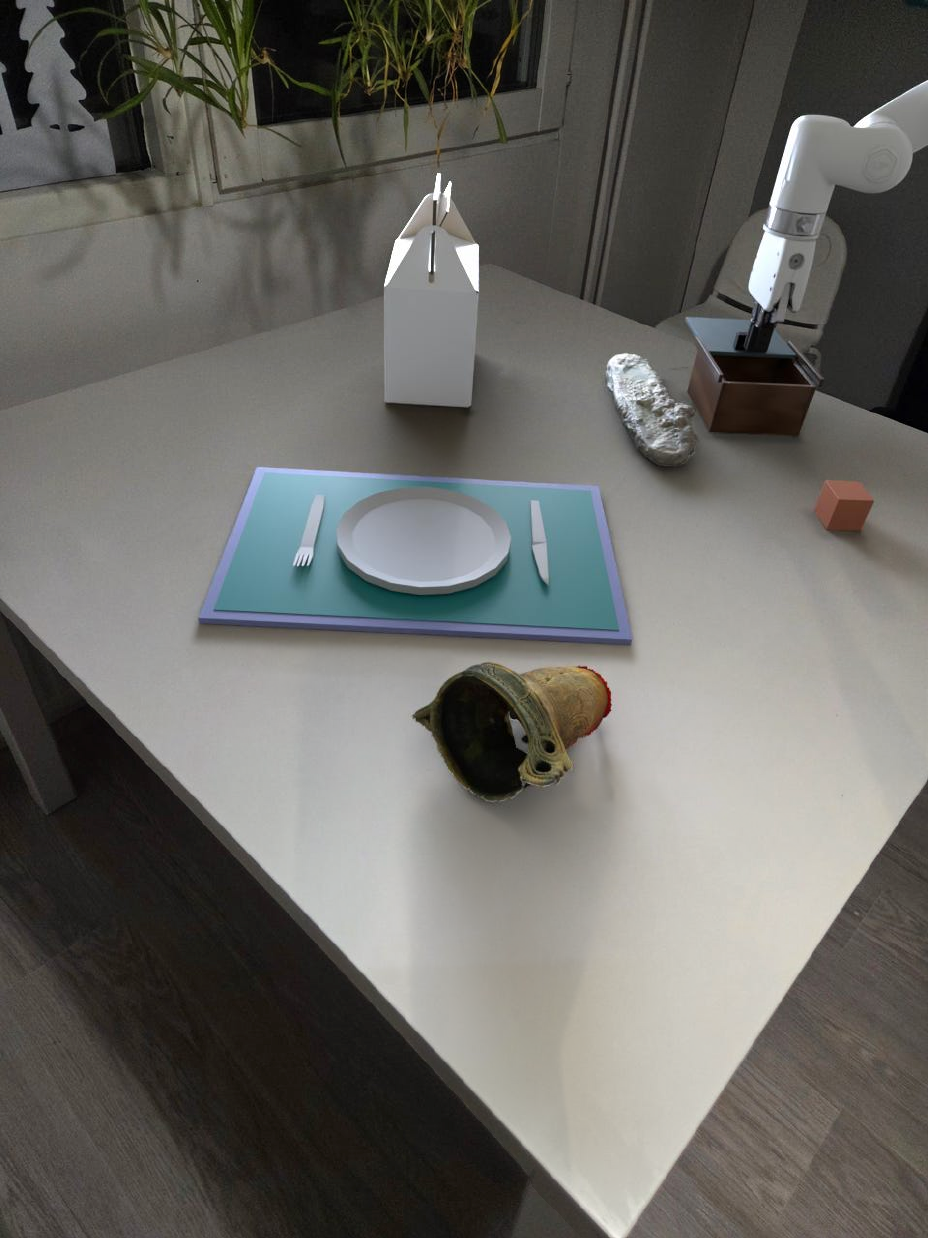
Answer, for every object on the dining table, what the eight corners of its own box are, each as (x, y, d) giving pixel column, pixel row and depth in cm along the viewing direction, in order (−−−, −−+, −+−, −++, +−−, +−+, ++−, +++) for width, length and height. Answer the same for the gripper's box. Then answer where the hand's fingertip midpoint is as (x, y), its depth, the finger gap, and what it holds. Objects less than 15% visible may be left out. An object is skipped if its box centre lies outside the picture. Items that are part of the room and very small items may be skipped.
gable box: (470, 409, 125) (484, 210, 107) (384, 403, 125) (383, 203, 107) (471, 350, 142) (483, 170, 124) (395, 345, 142) (396, 164, 124)
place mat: (199, 623, 85) (196, 606, 83) (257, 471, 108) (255, 456, 107) (631, 644, 86) (635, 628, 85) (597, 491, 110) (600, 476, 108)
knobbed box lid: (766, 324, 138) (772, 306, 136) (795, 358, 127) (801, 339, 125) (684, 320, 137) (689, 302, 135) (706, 354, 126) (711, 335, 124)
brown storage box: (774, 395, 136) (792, 340, 130) (804, 436, 125) (824, 379, 119) (682, 391, 135) (695, 336, 129) (703, 432, 124) (719, 374, 118)
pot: (679, 667, 71) (548, 711, 58) (663, 788, 74) (535, 854, 61) (527, 624, 82) (390, 652, 70) (518, 729, 85) (385, 775, 73)
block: (847, 511, 109) (860, 481, 106) (860, 530, 106) (874, 500, 103) (813, 510, 109) (825, 480, 106) (826, 529, 106) (839, 499, 103)
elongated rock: (649, 375, 142) (592, 376, 141) (653, 345, 139) (595, 346, 138) (709, 470, 114) (638, 472, 114) (716, 435, 111) (643, 436, 110)
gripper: (841, 238, 108) (795, 372, 120) (801, 207, 119) (763, 332, 131) (785, 235, 107) (745, 370, 119) (750, 204, 118) (717, 330, 130)
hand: (754, 349), depth 125 cm, fingers closed
